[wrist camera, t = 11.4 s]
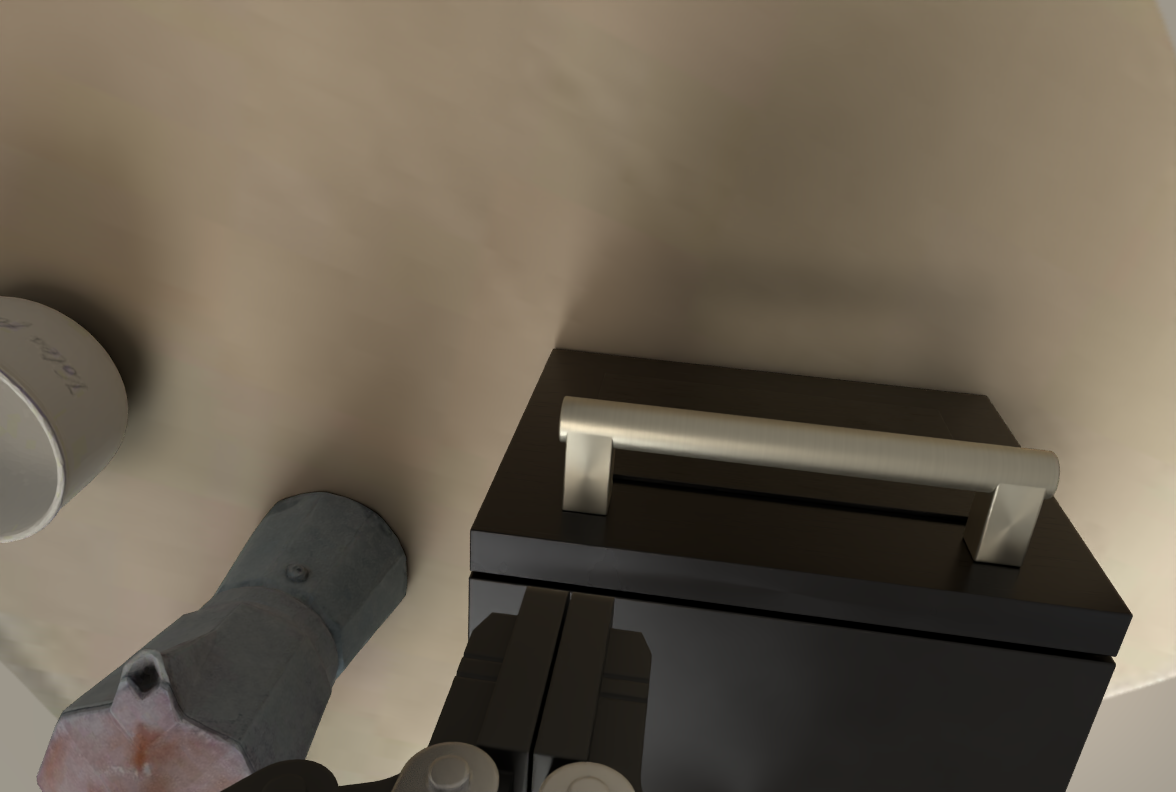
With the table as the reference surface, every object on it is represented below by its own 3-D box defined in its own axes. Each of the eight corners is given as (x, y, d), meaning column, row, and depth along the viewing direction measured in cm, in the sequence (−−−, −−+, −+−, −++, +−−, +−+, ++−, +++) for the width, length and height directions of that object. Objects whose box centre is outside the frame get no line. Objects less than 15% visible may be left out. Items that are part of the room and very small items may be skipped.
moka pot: (411, 448, 46) (209, 745, 27) (427, 682, 52) (273, 1048, 34) (235, 434, 47) (-70, 711, 29) (272, 664, 53) (42, 1011, 35)
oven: (551, 382, 43) (468, 577, 29) (976, 430, 41) (1117, 664, 27) (538, 643, 50) (465, 908, 35) (903, 694, 48) (984, 996, 33)
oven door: (556, 272, 40) (470, 423, 26) (1008, 317, 39) (1177, 507, 24) (551, 378, 43) (469, 571, 29) (978, 426, 41) (1116, 657, 27)
